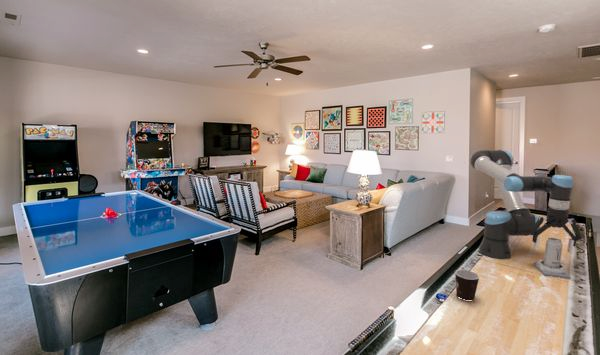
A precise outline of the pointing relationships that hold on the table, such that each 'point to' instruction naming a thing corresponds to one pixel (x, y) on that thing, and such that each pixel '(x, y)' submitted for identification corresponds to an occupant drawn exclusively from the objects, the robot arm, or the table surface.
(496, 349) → the table surface
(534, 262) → the slate plate
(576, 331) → the table surface
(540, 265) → the steel collar
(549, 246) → the energy drink can
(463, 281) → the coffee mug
